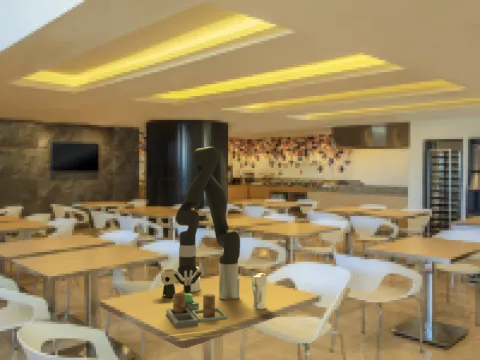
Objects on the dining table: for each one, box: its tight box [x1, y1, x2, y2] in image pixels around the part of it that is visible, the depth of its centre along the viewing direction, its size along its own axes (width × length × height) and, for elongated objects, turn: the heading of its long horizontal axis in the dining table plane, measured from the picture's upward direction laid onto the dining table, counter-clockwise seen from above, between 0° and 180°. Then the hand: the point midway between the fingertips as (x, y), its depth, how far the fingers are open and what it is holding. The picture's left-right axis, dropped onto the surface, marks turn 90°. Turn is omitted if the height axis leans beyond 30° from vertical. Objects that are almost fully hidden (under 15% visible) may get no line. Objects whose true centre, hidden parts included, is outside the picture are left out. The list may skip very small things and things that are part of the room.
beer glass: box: [251, 272, 268, 310], centre depth 209 cm, size 7×7×15 cm
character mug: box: [160, 268, 178, 298], centre depth 226 cm, size 11×7×13 cm, turn 54°
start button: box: [184, 293, 194, 304], centre depth 204 cm, size 4×4×5 cm
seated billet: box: [172, 292, 186, 314], centre depth 194 cm, size 5×5×9 cm
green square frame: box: [191, 307, 228, 323], centre depth 194 cm, size 12×12×2 cm
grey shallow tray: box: [165, 307, 199, 329], centre depth 189 cm, size 18×9×3 cm, turn 21°
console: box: [185, 297, 200, 312], centre depth 204 cm, size 8×8×4 cm
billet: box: [202, 293, 216, 318], centre depth 194 cm, size 5×5×9 cm
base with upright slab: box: [182, 266, 201, 293], centre depth 240 cm, size 9×9×12 cm
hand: (187, 293), depth 204 cm, fingers closed
